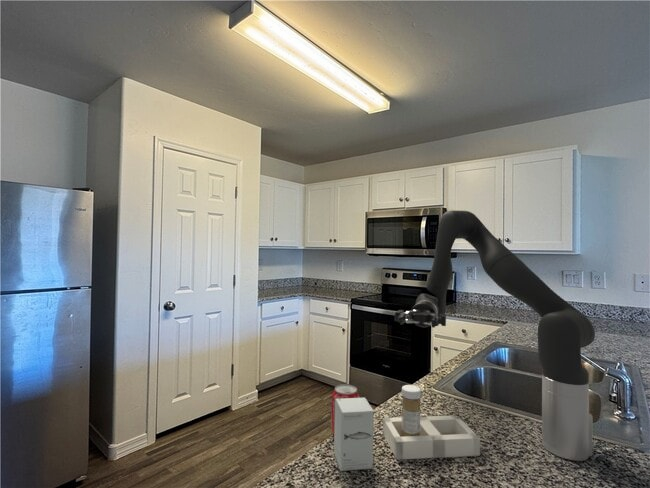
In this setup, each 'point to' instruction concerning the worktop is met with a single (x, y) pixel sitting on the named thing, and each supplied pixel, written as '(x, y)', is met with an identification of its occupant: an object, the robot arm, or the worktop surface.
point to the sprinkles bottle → (411, 410)
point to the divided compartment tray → (432, 438)
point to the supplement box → (353, 434)
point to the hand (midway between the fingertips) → (416, 322)
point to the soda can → (341, 393)
